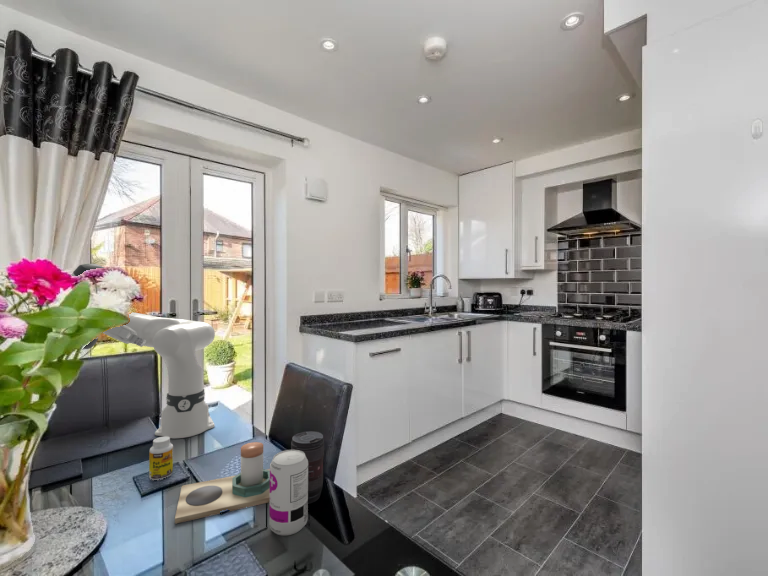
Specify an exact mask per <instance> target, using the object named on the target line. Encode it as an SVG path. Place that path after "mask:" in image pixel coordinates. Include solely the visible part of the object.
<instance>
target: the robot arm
mask: <svg viewBox="0 0 768 576" xmlns="http://www.w3.org/2000/svg"><path fill="white" fill-rule="evenodd" d="M96 268H105V267H104V266H102V265H100V264H97V263H83V264H79V265H78V266H77V268H75V269H74V271H73V272H72V273H70V275H72V276H78V275H80V274H82V273H83V272H84V271H86V270H90V269H96ZM131 312H132V313H131V314H129V318H130V322H129V323H128V324H126V325H123V326H120V327H115V328H112V329H109V330H107V331H105V332H103V333H102V334H104V335H107V336H108V337H109V338H112V339H113V340H117V341H119V342H122V343H123V344H126V345H130V344H131V345H132V344H133V345H136V346H139V347H141V348H142V347H147V348H153V349H154V351H155V352H156V353H157V354H158V355H159V356H160V357H161V358H162V359H163V361H164V365H165V366H166V367H165V368H166V371H167V385H168V386H167V391H168V392H167V393H166V397H165V398H166V399H165V401H166V406H165V407H164V408H163V410H161V416H160V426H159V428H158V429H156V430H155V432H154V436H159V437H163V436H168V437H170V439H183V438H189V437H194V436H196V435H199V434H202V433H204V432H206V431H207V430H210V429H213V428H215V426H216V425H215V423H214V421H213V419H212V417H211V414H210V412H209V409H210V407H209V404H208V403H206V401H205V396H206V395H205V393H206V392H205V389H204V368H203V366H201V365H200V364H199V362H198V360H197V356H196V352H197V351H200V350H203V349H205V348H206V347H208V346H209V345H211V344H212V343H213V341H214V340H215V337H216V332H215V329H214V327H213V326H212V325H211V324H210V323H208V322H204V321H198V320H190V319H182V318H181V319H180V318H171V317H160V316H155V315H149V314H145V313H141V312H140V313H138V312H133V311H131ZM98 338H99V337H97V338H96V339H94V340H93V341H92V342H90V343H89V344H88V345H86V346H85V347H84V348H83V349H82V350H89V349H92V348H93V347H94V346H95V345H96V343H97V342H98V341H99V339H98ZM82 350H81V351H82Z"/></svg>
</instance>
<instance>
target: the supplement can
mask: <svg viewBox="0 0 768 576" xmlns="http://www.w3.org/2000/svg"><path fill="white" fill-rule="evenodd" d="M269 469H270V502H269V515H268V516H269V517H268V518H269V523H268V524H269V525H268V526H269V529H270V530H271V531H272V532H273V533H274V534H276V535H279V536H291V535H295V534H297V533H299V532H300V531H301V530H302V529H303V528H304V527H305V525H307V523H308V520H309V519H308V518H309V516H308V513H309V512H308V511H309V509H308V508H309V505H308V460H307V458H306V456H305V453H304V452H302V451H299V450H291V449H287V450H286V449H285V450H282V451H280V452H278V453H276V454H274V456H272V460H271V462H270V464H269Z"/></svg>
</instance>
